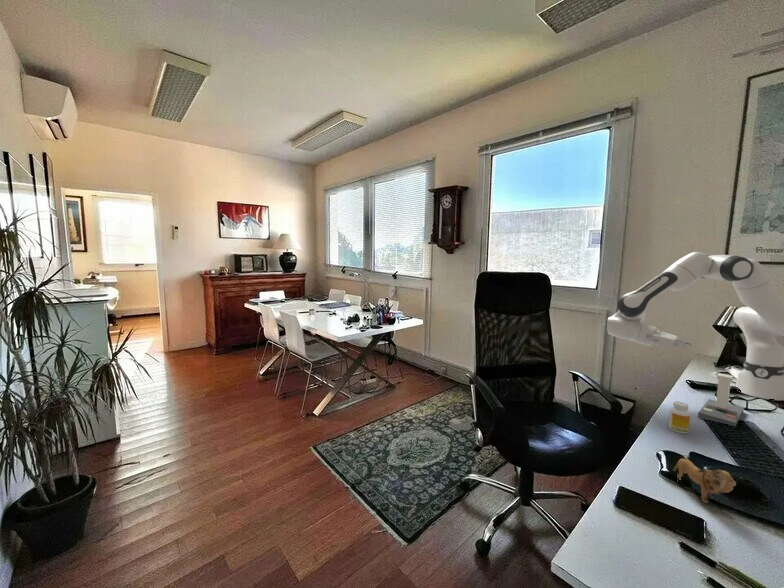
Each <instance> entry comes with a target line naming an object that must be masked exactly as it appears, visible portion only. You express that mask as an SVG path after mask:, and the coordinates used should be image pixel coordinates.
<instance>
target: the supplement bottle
mask: <svg viewBox="0 0 784 588" xmlns="http://www.w3.org/2000/svg"><path fill="white" fill-rule="evenodd" d="M668 419H669V420H668V428H669V430H671V431H673V432H675V433H679V434H688V433H689V432H690V421H691V412H690V411H689V404H687V403H685V402H683V401H678V400H676V401H673V406H672V407H670V410H669V418H668Z"/></svg>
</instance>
